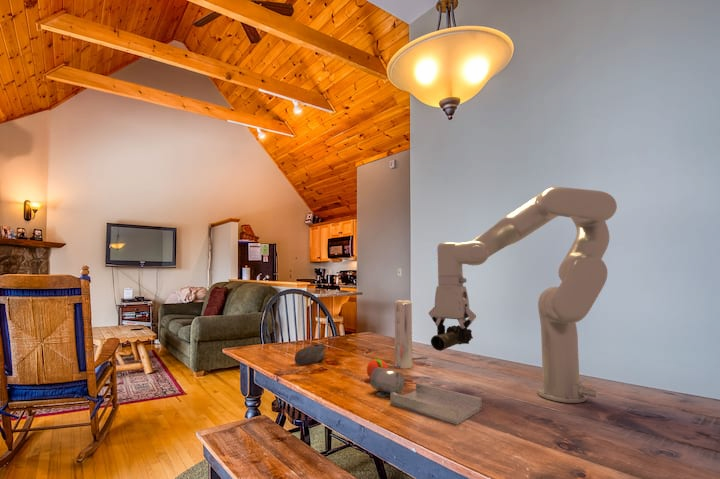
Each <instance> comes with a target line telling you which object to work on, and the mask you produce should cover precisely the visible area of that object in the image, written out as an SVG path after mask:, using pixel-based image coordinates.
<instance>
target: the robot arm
mask: <svg viewBox="0 0 720 479" xmlns="http://www.w3.org/2000/svg"><path fill="white" fill-rule="evenodd" d="M617 205H618V204H617V201H616V199H615V198H614V197H613V196H612V195H611V194H609V193H608V192H605V191H601V190H594V189H583V188H573V187H565V186H564V187H563V186H552V187H549V188H547V189H545V190H544V191H541V193H539V194H538V195H536V196H534V197H533V198H531V199H530V200H529V201H527V202H525V203H524V204H523V205H520V206H519V207H518V208H516V209H515V210H513V211H512V212H510V213H509V214H507V215H505V216H504V217H503V218H501V219H500V220H499V221H498V222H497V223H496V224H494V225H493V226H492V227H490V228H489V229H487V230H486V231H484V232H483V233H481V234H480V235H479V236H477V237H475V238H474V239H471V241H470V240H469V241H465V242H456V241H455V242H454V241H453V242H452V241H446V242H440V243H439V244H438V245H437V250H436V251H437V252H436V253H437V282H438V283H437V286H436V287H435V288H436V289H435V295H434V307H433V308H432V309H431V310H429V312H428V315H429V316H430V317H431V319H432V321H433V322H434V324H435V326H436V328H437V330H436V332H437V334H436V335H440V334H444V333H446V325H444V323H445V322H446V319H449V320H457V322H458V323H459V326H461V328H460V329H459V340H460V342H464V341H466V340H467V329H469V326H471V325H472V323H473V321H475V319H476V318H477V315H476V314H475V313H474V312H473V311H472V310H471V309H470V304H469V303H470V301H469V295H468V291H467V287H466V286H465V285H464V284H465V283H467V282H468V280H467V278H466V277H465V278H464V275H463V265H468V266H481V265H483V264H485V263H486V261H487V260H488V259H489V258H490V257H492V255H494V254H496V253H497V252H499V251H501V250H503V249H504V248H506V247H508V246H511V245H512V244H515V243H518V242H520V241H521V240H523V239H525V238H526V237H527V236H529V235H530V234H532V233H534V232H535V231H537V230H538V229H540V228H541V227H543V226H545V225H546V224H548V223H549V222H551V221H552V220H554V219H555V218H557V217H565V218H570V219H571V220H572V222H573V223H574V226H575V228H576V235H575V239H574V241H573V242H572V244H571V246H570V248H569V250H568V252H567V254H566V255H565V257H564V259H563V261H562V262H561V264H560V265H559V268H558V272H557V273H558V277H559V279H560V281H561V283H560V285H559V286H550V287H549V288H546V289H544V290H543V291H542V292H541V293H540V295H539V297H538V301H537V308H538V314H539V315H538V316H539V321H540V334H541V335H540V336H541V339H540V340H541V362H542V363H541V364H542V386H539V387H537V394H538V395H539V396H540V397H542V398H544V399H546V400H551V401H554V402H558V403H560V402H561V403H565V404H567V403H569V404H579V403H584V402H586V401H587V396H588V397H592V398H598V390H597V389H595V388H594V387H586V386H585V385H584V384H583V381H581V380H580V362H579V344H578V343H579V340H578V339H579V337H578V330H577V323H579V322H580V321H582V320H583V319H585V317H586V316H587V315H588V314H589V312H590V311H591V309H592V307H593V305H594V303H595V302H596V300H597V298H599V297H598V296H599V295H600V293H601V292H602V290H603V287H604V286H605V285H606V282H607V278H608V267H607V265H606V263H605V261H603V258H604V255H605V253H606V251H607V249H608V246H609V242H610V232H609V231H610V230H609V227H608V224H607V221H608V220H610V219H611V218H612V217H613V216H614V215H615V214H616V212H617V208H618V206H617Z"/></svg>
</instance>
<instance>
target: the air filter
mask: <svg viewBox="0 0 720 479" xmlns="http://www.w3.org/2000/svg"><path fill="white" fill-rule="evenodd" d="M412 307H413V306H412V303H411V300H405V299H403V300H401V299H399V300H395V302H394V367H395V368H396V369H402V370H404V369H406V370H407V369H412V368H413V330H412V329H413V326H412V323H413V321H412V318H413V316H412V314H413V311H412V310H413V309H412Z"/></svg>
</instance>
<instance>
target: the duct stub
mask: <svg viewBox="0 0 720 479" xmlns="http://www.w3.org/2000/svg"><path fill="white" fill-rule="evenodd" d="M405 381H406V380H405V376H404V374H403V372H400V371H396V370H392V369H388V368H387V369H384V368H380V367H377V368H375V369H374V370H373V371H372V373H371V377H369V382H370V383H369V384H370V386H371V388H372V389H373V390H376V391H379V392H376V393H375V396H377V397H381V398H386V397H389V396H390V393H392V392H394V393H398V394H401V393H402V392H403V390H404V387H405Z"/></svg>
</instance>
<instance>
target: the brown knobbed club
mask: <svg viewBox="0 0 720 479" xmlns="http://www.w3.org/2000/svg"><path fill="white" fill-rule="evenodd" d="M460 328H461V326H460V324H459V325H450V326H448V327H447V328H446V329H445V333H444V334H440V335H438V334H436V335H435V334H434V335H433V336H432V337H431V339H430V345H431V346H432V348H433V349H435V351H439V352H441V351H444V350H446V349H449V348H451V347H454V346H455V345H456V346H457V345H465V344H466V345H469V344H470V341H471V340H472V339H474V337H473V335H472V333H473V332H472V331H473V330H472V329H470V328H467V340H466V341H464V342H460V340H459V329H460Z"/></svg>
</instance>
